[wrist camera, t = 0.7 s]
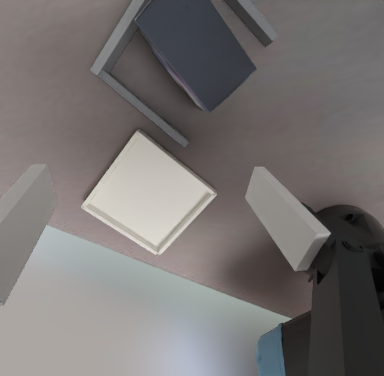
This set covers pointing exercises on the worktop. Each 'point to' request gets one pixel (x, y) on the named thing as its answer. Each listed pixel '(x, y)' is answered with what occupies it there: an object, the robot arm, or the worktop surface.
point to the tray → (148, 194)
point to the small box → (196, 49)
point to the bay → (128, 27)
